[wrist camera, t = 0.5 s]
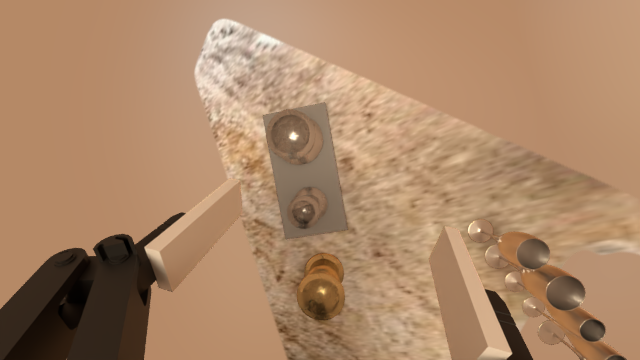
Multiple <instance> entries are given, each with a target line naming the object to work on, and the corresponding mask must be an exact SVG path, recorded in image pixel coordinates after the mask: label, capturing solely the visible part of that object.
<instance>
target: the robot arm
mask: <svg viewBox="0 0 640 360" xmlns="http://www.w3.org/2000/svg"><path fill="white" fill-rule="evenodd" d="M241 214H242V199H241V184H240V180H236V179H231V178H229V179H228V180H227V181H226V182H225V183H223V184H222V185H221V186H220V187H218V188H217V189H216V190H215V191H213V192H212V193H211V194H210V195H208V196H207V197H206V198H205V199H203V200H202V201H201V202H200V203H198V204H197V205H196V206H195V207H194V208H192V209H191V210H190V211H189V212H187V213H179V214H177V215H174V216H172V217H171V218H169V219H168V220H167V221H165V222H164V224H162V225H160V226H159V227H158V228H157V229H155V230H154V231H152V232H151V233H150V234H148V235H147V236H146V237H145V238H143V239H142V240H141V241H139V242H138V243H137V244H135V245H134V242H133V240H132V237H130V236H129V235H125V234H119V235H114V236H110V237H108V238H105V239H103V240H101V241H100V242H99V243H98V244H96V246H95V247H94V248H93V250H94V252H95V254H96V256H88V255H87V253H86V251H85V250H83V249H82V248H72V249H67V250H64V251H62V252H59V253H57V254H55V255H53V256H52V257H50V258H49V259H48V260H47V261H46V262H45V263H44V264H43V265H42V266H41V267H40V268H39V269H38V270H37V271H36V272H35V273H34V274H33V275H32V277H31V278H30V279H29V280H28V281H27V282H26V283H25V284H24V285H23V286H22V287H21V288H20V289H19V290H18V291H17V292H16V293H15V294H14V295H13V297H11V299H10V300H9V301H8V302H7V303H6V304H5V305H4V306H3V307H2V308H1V309H0V360H66V359H67V360H144V353H145V344H146V335H147V326H148V316H149V308H150V299H151V285H152V284H153V282H155V280H156V281H157V284H158V286H159V288H161V289H164V290H167V291H171V292H173V291H174V290H175V289H176V288H177V286H178V285H179V284H180V283H181V282H182V281H183V280H184V279H185V277H186V276H187V275H188V274H189V273H190V272H191V271H192V269H193V268H194V267H195V266H196V265H197V264H198V263H199V262H200V261H201V259H202V258H203V257H204V256H205V255H206V254H207V253H208V251H209V250H210V249H211V248H212V247H213V246H214V245H215V243H216V242H217V241H218V240H219V239H220V238H221V237H222V236H223V235H224V233H225V232H226V231H227V230H228V229H229V228H230V227H231V226H232V224H233V223H234V222H235V221H236V220H237V219H238V218H239V216H240V215H241ZM429 262H430V266H431V270H432V275H433V279H434V284H435V288H436V292H437V297H438V301H439V306H440V310H441V314H442V319H443V323H444V328H445V332H446V337H447V341H448V345H449V350H450V354H451V359H452V360H533V358H532V356H531V354H530V352H529V350H528V348H527V346H526V344H525V342H524V340H523V338H522V336H521V334H520V332H519V330H518V328H517V327H516V326H515V325H516V324H515V322H514V320H513V318H512V317H511V314H510V312H509V310H508V308H507V306H506V304H505V302H504V301H503V300H502V299H501V298H500V296H499V295H498V294H497V293H496V292H494V291H490V290H486V289H484V287H483V285H482V283H481V280H480V278H479V276H478V273H477V271H476V269H475V266H474V264H473V262H472V260H471V257H470V255H469V253H468V250H467V248H466V246H465V243H464V241H463V239H462V237H461V234H460V232H459V230H458V229H456V228H451V227H447V226H444V228H443V230H442V232H441V234H440V236H439V239H438V241H437V243H436V245H435V247H434V249H433V251H432V253H431V255H430V257H429Z"/></svg>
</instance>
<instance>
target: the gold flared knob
mask: <svg viewBox="0 0 640 360" xmlns="http://www.w3.org/2000/svg"><path fill="white" fill-rule="evenodd" d="M343 277H344V272H343V267H342V264H341V262H340V261H339V260H338V259H337V258H336V257H335V256H333V255H331V254H327V253H320V254H317V255H315V256H313V257H312V258H310V260H309V261H308V262H307V264H306V267H305V278H304V279H303V280H302V281H301V283H300V285H299V288H298V291H297V301H298V304H299V306H300V308H301V310H302V311H303V312H304V313H305V314H306V315H307V316H309V317H311V318H313V319H316V320H328V319H331V318H333V317H335V316H336V315H337V314H338V313H339V312H340V311H341V309H342V307H343V305H344V300H345V295H344V289H343V286H342V284H341V283H342V281H343Z"/></svg>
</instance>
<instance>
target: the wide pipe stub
mask: <svg viewBox="0 0 640 360" xmlns="http://www.w3.org/2000/svg"><path fill="white" fill-rule="evenodd" d="M266 139H267V143H268V145H269V147H270V149H271V150H272V151H273V152H274V153H275V154H276V155H277V156H279V157H281V158H282V159H284V160H285V161H287V162H289V163H291V164H295V165H303V164H307V163H310V162H311V161H313V160H314V159H315V158H316V157H317V156H318V155H319V154H320V152H321V150H322V146H323V135H322V131H321V129H320V127H319V126H318V124H317V123H316V122H315V121H313V120H312V119H310V118H309V117H308V116H307V115H306V114H304V113H303V112H301V111H298V110H293V109H288V110H283V111H281V112H279V113H277V114H276V115H275V116H274V117H273V118H272V119H271V120H270V122H269V124H268V126H267V130H266Z"/></svg>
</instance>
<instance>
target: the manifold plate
mask: <svg viewBox="0 0 640 360" xmlns="http://www.w3.org/2000/svg"><path fill="white" fill-rule="evenodd" d="M293 110H298V111H301V112H303V113H304V114H306V115H307V116H308V117H309V118H310V119H312V120H313V121H315V122H316V123H317V124H318V126H319V127H320V129H321V131H322V135H323V146H322V150H321V152H320V154H319V155H318V156H317V157H316V158H315V159H314V160H313V161H311V162H310V163H307V164H303V165H295V164H291V163H289V162H287V161H285V160H284V159H282V158H281V157H279V156H277V155H276V154H275V153H274V152H273V151H272V150H271V149H270V147H269V145H268V147H269V153H270V158H271V163H272V169H273V174H274V180H275V185H276V190H277V196H278V201H279V206H280V212H281V217H282V223H283V228H284V233H285V239H292V238H298V237H305V236H311V235H318V234H324V233H331V232H337V231H343V230H348V229H347V223H346V217H345V212H344V206H343V200H342V195H341V189H340V183H339V178H338V172H337V166H336V160H335V155H334V149H333V143H332V138H331V132H330V126H329V121H328V115H327V109H326V104H325V102H324V103H320V104H315V105H310V106H305V107H300V108H295V109H293ZM277 113H279V112H276V113H271V114H266V115H263V120H264V126H265V131H266V130H267V126H268V124H269V122H270V120H271V119H272V118H273V117H274V116H275V115H276V114H277ZM306 187H315V188H318V189H320V190H321V191H322V192H323V193H324V194H325V196H326V198H327V202H328V206H327V210H326V212H325V214H324V215H323V216H322V217H321V218H320V219H318V221H317V223H316V224H315V225H314V226H312V227H311V228H308V229H300V228H297V227H295V226H294V225H292V224H291V222H290V221H289V219H288V216H287V208H288V205H289V204H290V202H291V201H292V200H293V199H294V197H295V195H296V194H297V193H298V192H299V191H300V190H301V189H303V188H306Z"/></svg>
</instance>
